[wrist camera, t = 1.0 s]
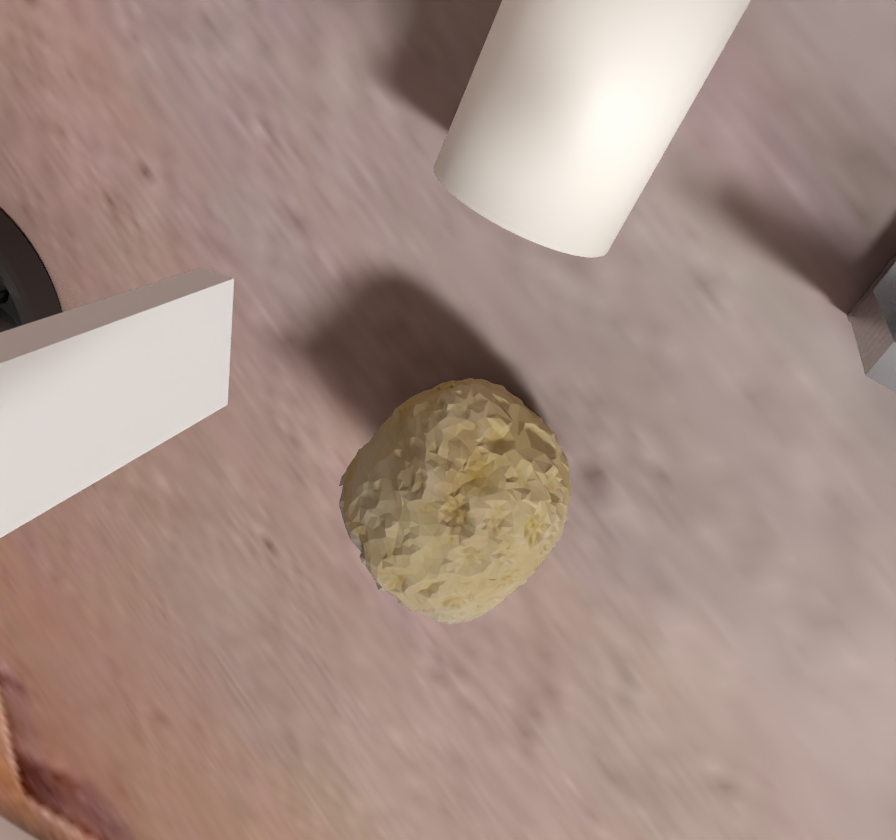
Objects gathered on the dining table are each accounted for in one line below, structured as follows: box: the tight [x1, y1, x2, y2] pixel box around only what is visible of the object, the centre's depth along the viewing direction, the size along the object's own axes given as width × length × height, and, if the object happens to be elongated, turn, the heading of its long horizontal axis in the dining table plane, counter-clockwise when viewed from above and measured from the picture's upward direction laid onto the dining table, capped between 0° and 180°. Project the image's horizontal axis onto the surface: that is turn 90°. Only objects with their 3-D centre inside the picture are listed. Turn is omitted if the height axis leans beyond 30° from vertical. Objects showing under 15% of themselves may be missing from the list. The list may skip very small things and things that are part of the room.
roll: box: [434, 0, 751, 257], centre depth 26 cm, size 9×7×7 cm
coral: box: [339, 378, 571, 625], centre depth 32 cm, size 10×10×10 cm
